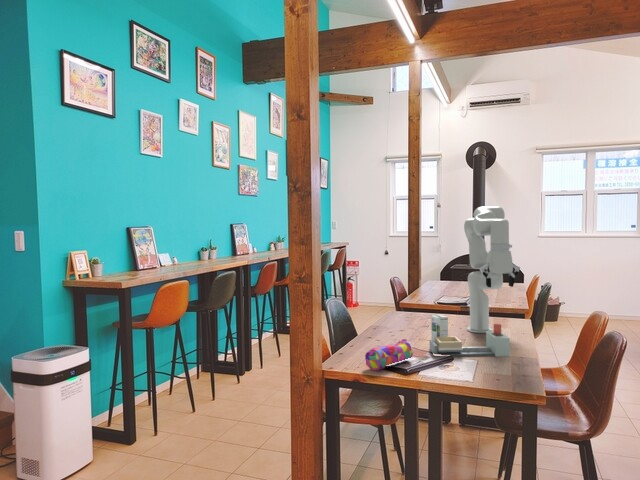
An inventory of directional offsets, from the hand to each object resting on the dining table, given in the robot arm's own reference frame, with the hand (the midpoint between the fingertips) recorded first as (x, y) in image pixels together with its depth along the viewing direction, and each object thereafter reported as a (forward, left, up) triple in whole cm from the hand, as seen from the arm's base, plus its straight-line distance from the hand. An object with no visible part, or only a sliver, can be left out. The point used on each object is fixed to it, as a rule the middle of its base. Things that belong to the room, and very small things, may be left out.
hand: (499, 286), depth 198 cm
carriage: (-2, -22, -29) cm, 36 cm away
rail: (-2, -16, -30) cm, 34 cm away
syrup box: (-13, -23, -30) cm, 40 cm away
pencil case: (+13, -50, -30) cm, 60 cm away
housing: (-2, 0, -30) cm, 30 cm away
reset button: (-2, 0, -24) cm, 25 cm away
